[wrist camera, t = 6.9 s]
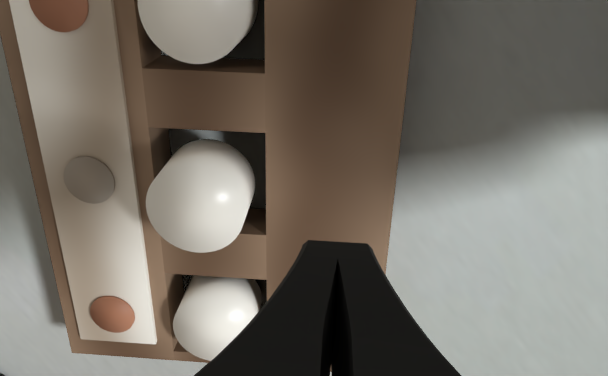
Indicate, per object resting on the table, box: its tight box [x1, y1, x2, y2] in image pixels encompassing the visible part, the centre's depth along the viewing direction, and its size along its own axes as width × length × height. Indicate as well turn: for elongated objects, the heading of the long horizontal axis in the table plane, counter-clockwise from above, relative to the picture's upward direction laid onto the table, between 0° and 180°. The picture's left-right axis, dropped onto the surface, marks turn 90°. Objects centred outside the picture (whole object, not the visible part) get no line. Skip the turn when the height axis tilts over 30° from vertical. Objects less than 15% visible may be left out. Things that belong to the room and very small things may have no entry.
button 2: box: [173, 275, 262, 361], centre depth 21 cm, size 3×3×2 cm
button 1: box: [138, 0, 258, 64], centre depth 16 cm, size 3×3×2 cm
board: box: [0, 0, 416, 372], centre depth 19 cm, size 13×17×2 cm
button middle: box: [146, 139, 255, 253], centre depth 18 cm, size 3×3×2 cm
